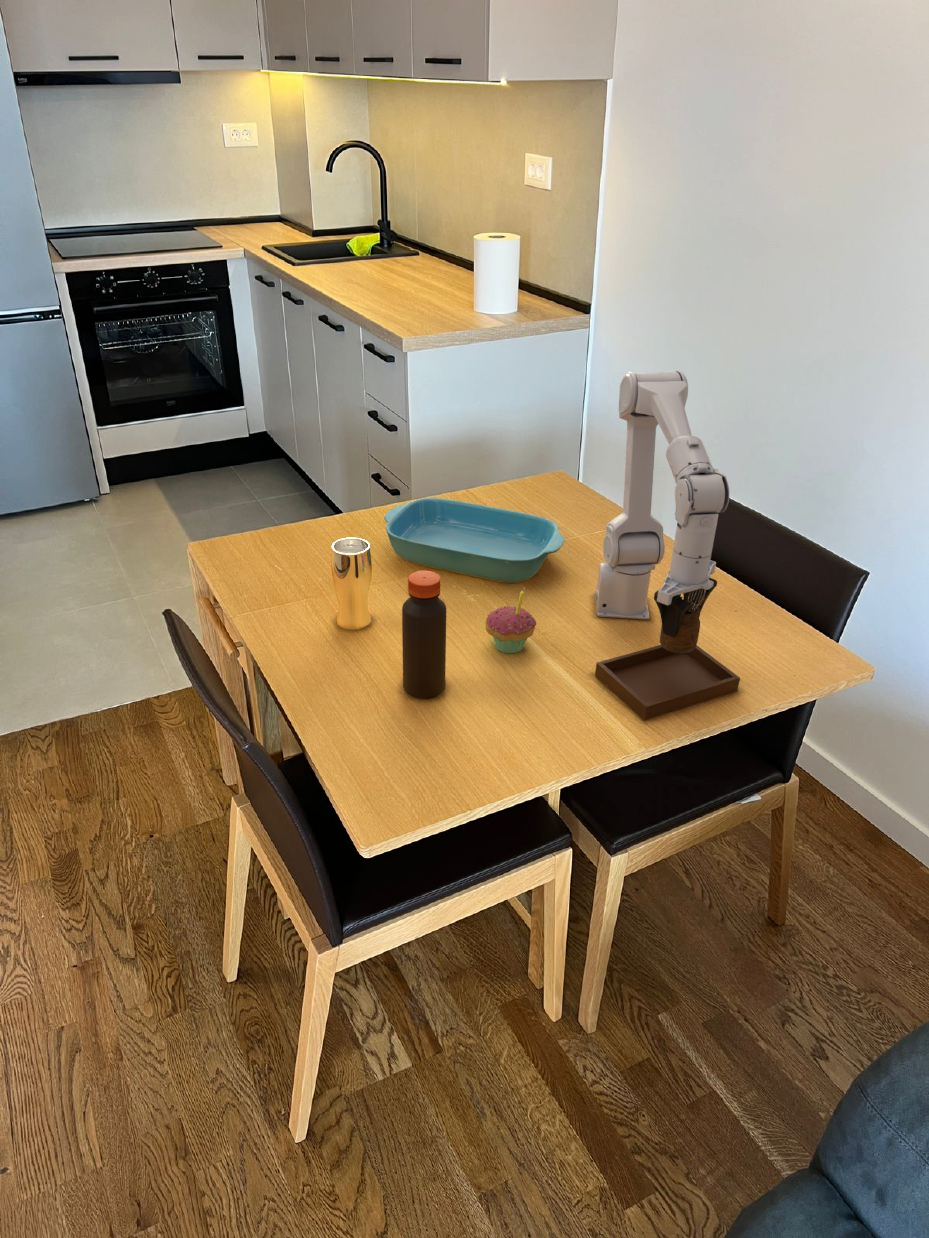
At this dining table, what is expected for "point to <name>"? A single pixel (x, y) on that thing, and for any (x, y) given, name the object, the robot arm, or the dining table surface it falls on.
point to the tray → (665, 679)
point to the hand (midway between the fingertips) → (679, 626)
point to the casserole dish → (472, 538)
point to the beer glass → (352, 581)
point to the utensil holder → (684, 632)
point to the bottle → (424, 636)
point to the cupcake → (510, 627)
